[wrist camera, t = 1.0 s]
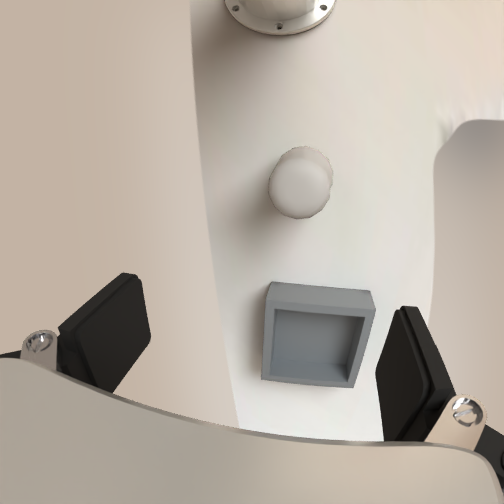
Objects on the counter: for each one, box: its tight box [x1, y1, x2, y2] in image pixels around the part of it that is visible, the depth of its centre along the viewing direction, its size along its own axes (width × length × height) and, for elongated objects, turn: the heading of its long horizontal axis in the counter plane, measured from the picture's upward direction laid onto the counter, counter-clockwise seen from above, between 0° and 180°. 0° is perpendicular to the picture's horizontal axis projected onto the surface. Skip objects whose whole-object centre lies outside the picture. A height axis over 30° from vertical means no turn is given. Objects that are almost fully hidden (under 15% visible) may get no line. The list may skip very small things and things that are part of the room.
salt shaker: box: [268, 146, 333, 219], centre depth 25 cm, size 6×6×13 cm
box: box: [261, 282, 376, 388], centre depth 35 cm, size 12×12×4 cm
